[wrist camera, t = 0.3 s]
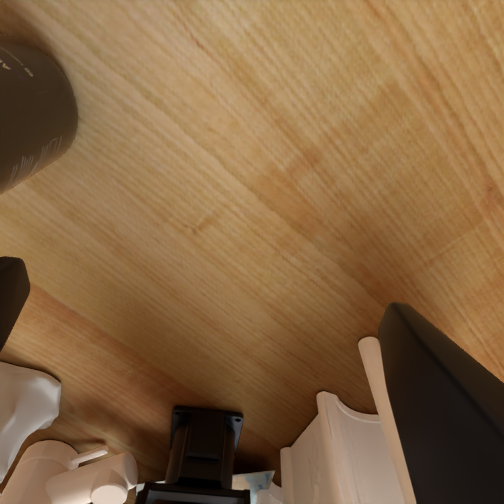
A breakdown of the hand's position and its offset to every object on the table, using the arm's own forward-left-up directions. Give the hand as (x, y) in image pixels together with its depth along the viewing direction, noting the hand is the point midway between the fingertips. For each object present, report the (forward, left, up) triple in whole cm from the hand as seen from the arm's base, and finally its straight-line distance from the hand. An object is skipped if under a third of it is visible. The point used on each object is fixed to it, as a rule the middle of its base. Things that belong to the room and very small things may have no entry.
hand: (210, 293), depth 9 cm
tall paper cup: (-31, +10, -3) cm, 33 cm away
